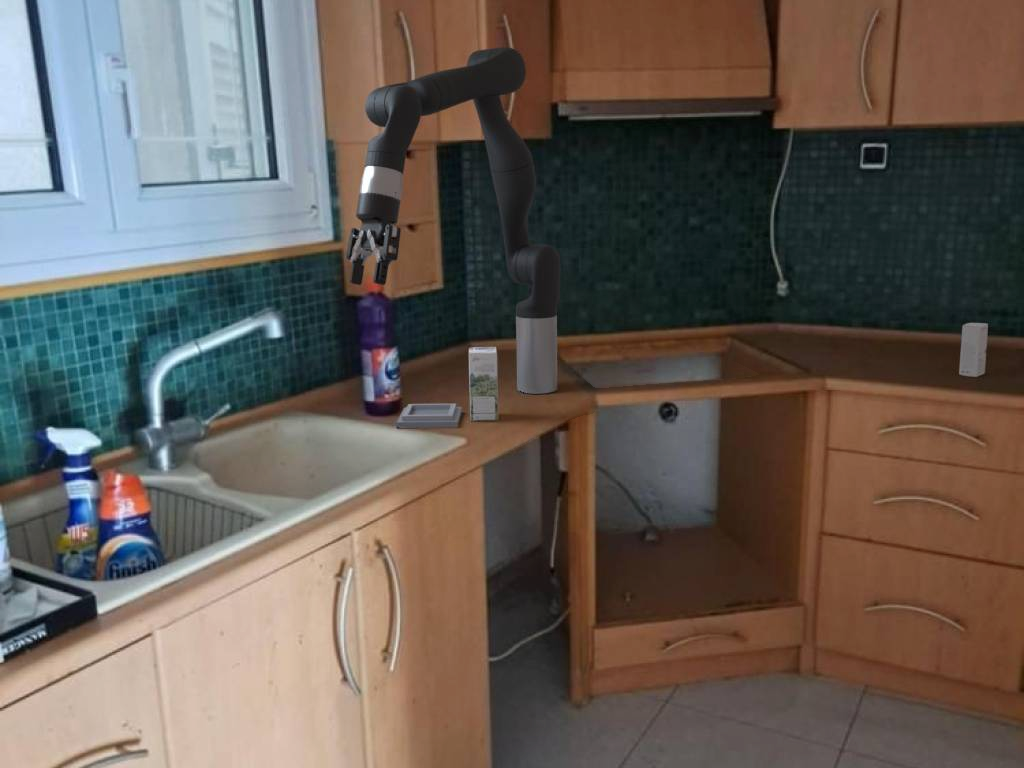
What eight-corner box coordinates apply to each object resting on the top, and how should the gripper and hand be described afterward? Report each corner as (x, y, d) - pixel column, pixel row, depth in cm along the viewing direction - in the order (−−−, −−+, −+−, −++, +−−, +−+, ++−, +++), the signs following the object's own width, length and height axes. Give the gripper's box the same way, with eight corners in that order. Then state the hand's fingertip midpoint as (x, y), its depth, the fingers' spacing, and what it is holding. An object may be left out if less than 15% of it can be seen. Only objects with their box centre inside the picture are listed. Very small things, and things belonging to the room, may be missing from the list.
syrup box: (498, 414, 194) (496, 345, 191) (498, 421, 188) (497, 350, 185) (470, 415, 194) (468, 346, 191) (470, 422, 188) (468, 351, 185)
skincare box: (977, 377, 220) (982, 326, 217) (957, 375, 223) (961, 324, 220) (985, 373, 224) (990, 323, 222) (965, 370, 227) (970, 321, 225)
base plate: (404, 413, 196) (404, 402, 196) (461, 412, 196) (461, 402, 195) (396, 428, 184) (396, 417, 184) (457, 427, 184) (456, 416, 184)
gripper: (418, 198, 166) (405, 288, 166) (377, 203, 177) (365, 287, 177) (382, 187, 162) (369, 280, 162) (342, 193, 173) (329, 280, 173)
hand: (367, 284), depth 169 cm, fingers open, 8 cm apart
